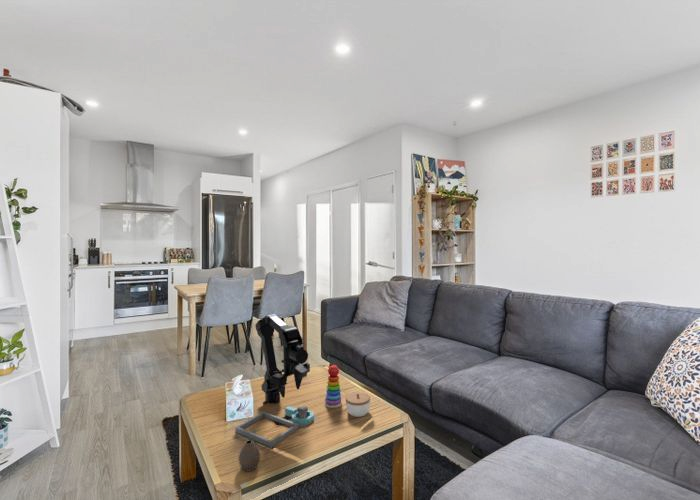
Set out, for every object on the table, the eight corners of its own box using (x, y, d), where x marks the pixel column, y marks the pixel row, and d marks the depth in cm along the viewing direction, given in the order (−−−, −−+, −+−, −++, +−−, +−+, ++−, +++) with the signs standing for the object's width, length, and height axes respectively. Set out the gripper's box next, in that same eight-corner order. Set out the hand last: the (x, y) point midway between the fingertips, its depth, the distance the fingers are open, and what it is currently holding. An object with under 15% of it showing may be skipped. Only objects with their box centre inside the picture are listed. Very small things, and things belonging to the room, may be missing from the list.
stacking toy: (339, 410, 154) (339, 369, 153) (322, 409, 155) (322, 368, 155) (343, 402, 161) (343, 363, 161) (327, 401, 163) (326, 362, 163)
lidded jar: (340, 415, 150) (340, 394, 150) (357, 406, 158) (356, 386, 157) (359, 423, 142) (358, 401, 142) (375, 414, 150) (375, 393, 150)
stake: (285, 423, 143) (285, 410, 143) (301, 413, 152) (301, 401, 152) (304, 430, 138) (304, 417, 138) (319, 419, 146) (319, 406, 146)
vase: (241, 461, 119) (241, 436, 119) (261, 460, 120) (261, 435, 119) (236, 474, 112) (236, 448, 112) (258, 473, 113) (257, 447, 112)
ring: (279, 418, 146) (279, 411, 146) (294, 409, 154) (293, 402, 153) (304, 427, 139) (303, 419, 139) (317, 417, 146) (317, 410, 146)
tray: (235, 433, 136) (235, 427, 136) (263, 417, 149) (263, 411, 149) (271, 449, 126) (271, 442, 126) (298, 430, 138) (298, 424, 138)
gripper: (289, 367, 136) (289, 406, 136) (318, 354, 151) (318, 389, 152) (269, 362, 142) (269, 399, 142) (299, 350, 157) (299, 383, 158)
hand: (290, 393), depth 148 cm, fingers open, 9 cm apart
